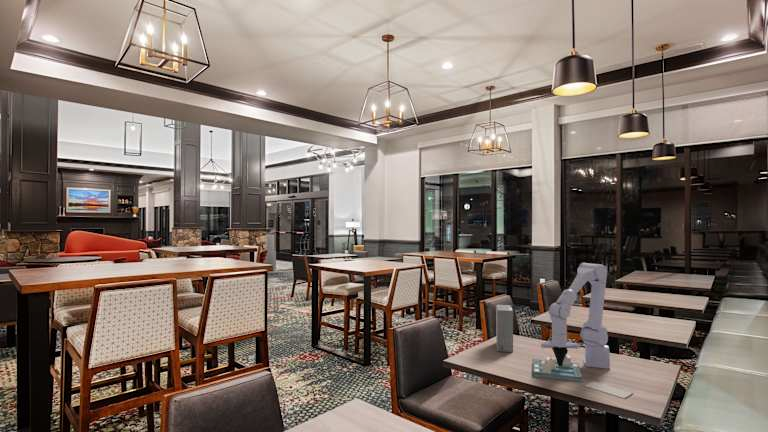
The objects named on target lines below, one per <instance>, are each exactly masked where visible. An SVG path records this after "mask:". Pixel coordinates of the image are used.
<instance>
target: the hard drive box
mask: <svg viewBox="0 0 768 432" xmlns="http://www.w3.org/2000/svg"><path fill="white" fill-rule="evenodd" d="M495 313H496V315H495V318H496V319H495V321H496V322H495V323H496V324H495V325H496V326H495V328H496V329H495V333H496V335H495V337H496V351H497V352H507V353H514V310H513V308H512V305H511V304H510V305H509V304H496V306H495Z"/></svg>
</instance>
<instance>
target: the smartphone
mask: <svg viewBox="0 0 768 432" xmlns="http://www.w3.org/2000/svg"><path fill="white" fill-rule="evenodd" d="M583 386H584V387H585V388H588V389H592V390H595V391H598V392H601V393H604V394H607V395H609V396H611V395H612V396H614V397H617V398H620V399H623V400H626V399H629V398H630V397H632V396H633V395H634V393H633V392H630V391H626V390H623V389H620V388H616V387H612V386H609V385H606V384H602V383H599V382H595V381H590V382H588V383H586V384H583Z"/></svg>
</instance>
